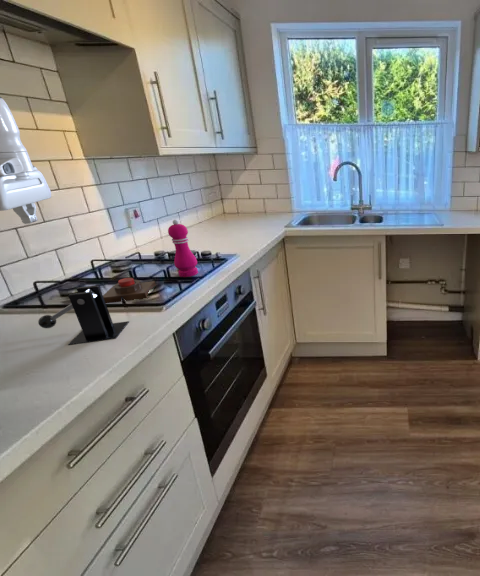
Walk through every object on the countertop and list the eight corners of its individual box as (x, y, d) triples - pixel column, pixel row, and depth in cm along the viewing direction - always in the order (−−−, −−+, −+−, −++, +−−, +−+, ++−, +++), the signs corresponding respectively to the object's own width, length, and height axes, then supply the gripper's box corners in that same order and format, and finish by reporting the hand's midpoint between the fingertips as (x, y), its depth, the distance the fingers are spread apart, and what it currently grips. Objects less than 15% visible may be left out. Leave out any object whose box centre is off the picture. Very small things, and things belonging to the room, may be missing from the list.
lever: (43, 333, 86) (31, 323, 85) (51, 326, 89) (39, 317, 87) (94, 301, 86) (82, 291, 85) (100, 295, 89) (88, 286, 88)
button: (117, 288, 111) (115, 283, 110) (122, 283, 115) (120, 278, 114) (132, 286, 112) (130, 281, 111) (136, 281, 116) (135, 276, 115)
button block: (102, 304, 109) (98, 292, 107) (115, 291, 118) (111, 280, 116) (146, 299, 112) (143, 287, 110) (156, 287, 121) (153, 276, 119)
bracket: (69, 348, 86) (48, 300, 81) (87, 330, 94) (69, 285, 89) (117, 342, 88) (99, 294, 83) (130, 325, 96) (115, 280, 91)
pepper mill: (191, 278, 128) (177, 222, 120) (173, 277, 129) (157, 222, 121) (203, 271, 134) (191, 217, 126) (186, 270, 135) (172, 217, 127)
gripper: (19, 162, 95) (39, 215, 100) (-42, 169, 77) (-13, 233, 82) (47, 161, 96) (66, 213, 102) (-6, 168, 78) (20, 230, 84)
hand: (30, 222), depth 92 cm, fingers closed
